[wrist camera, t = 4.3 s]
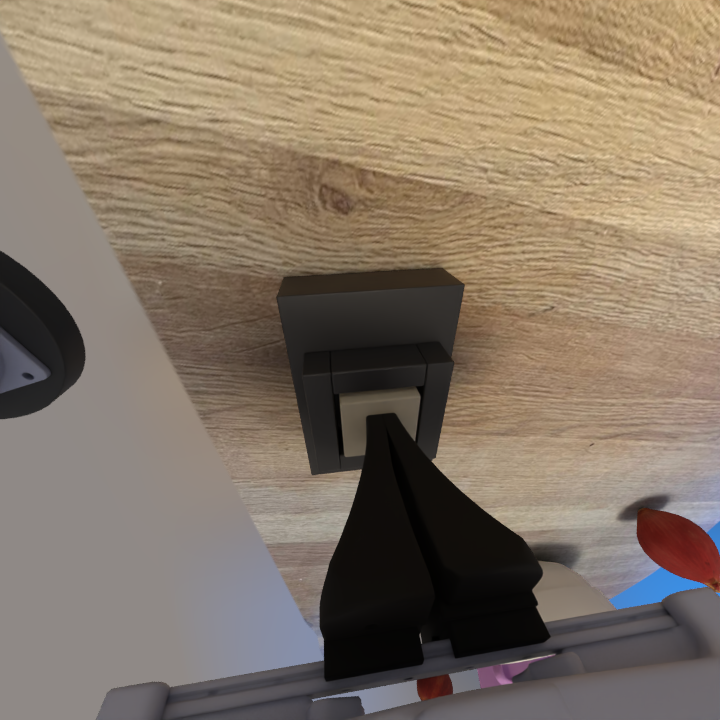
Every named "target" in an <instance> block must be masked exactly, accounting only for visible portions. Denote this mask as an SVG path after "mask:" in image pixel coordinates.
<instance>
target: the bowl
mask: <svg viewBox="0 0 720 720" xmlns="http://www.w3.org/2000/svg"><path fill="white" fill-rule="evenodd" d="M538 562H539V564H540V566H541V568H542V569H543V576H542V578H541V580H540V581H539V582H538V583H537V585H536V586H535V587H534V588H533V589H532V591H533V593H534V595H535V597H536V599H537V601H538V605H537V606H536V608H537V610H538V612H539V614H540V616H541V618H542V620H543V622H549V621H555V620H561V619H566V618H572V617H578V616H584V615H589V614H595V613H601V612H607V611H612V610H617V609H616V608H615V607H614V606H613V605H612V604H611V603H610V601H609V600H608V599H607V598H606V597H605V596H604V594H603V593H602V592H601V591H600V590H599V589H597V588H595V587H592V586H591V585H590V584H589V583H588V582H587V581H586V580H585V579H584V578H583V577H582V576H581V575H579V574H578V573H576V572H574V571H573V570H571V569H569V568H567V567H566V566H564V565H562V564H560V563H555V562H546V561H538ZM554 655H555V654H554ZM548 656H551V655H548ZM543 657H547V656H543ZM543 657H538V658H543ZM538 658H532V659H527V660H521V661H516V662H510V663H505V664H511V663H518V662H523V661H529V660H534V659H538ZM500 665H501V664H500Z"/></svg>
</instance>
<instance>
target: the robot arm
mask: <svg viewBox="0 0 720 720" xmlns="http://www.w3.org/2000/svg"><path fill="white" fill-rule="evenodd" d="M50 375H51V371H50V369H49V368H48V367H47V366H45V365H44V364H43V363H42V362H41V361H40V360H39V359H37V358H36V357H35V356H34V355H33V354H32V353H31V352H29V351H28V350H27V349H26V348H25V347H24V346H23V345H21V344H20V343H19V342H18V341H17V340H16V339H14V338H13V337H12V336H11V335H10V334H9V333H8V332H6V331H5V330H4V329H3V328H2V327H1V326H0V393H3V392H6V391H10V390H13V389H16V388H19V387H22V386H26V385H29V384H32V383H35V382H38V381H42V380H44V379H46V378H48V377H49V376H50ZM542 576H543V569H542V568H541V566H540V564H539V562H538V561H537V559H536V557H535V555H534V554H533V552H532V551H531V549H530V548H529V547H528V545H527V544H526V542H525V541H524V539H523V538H522V537H520V536H519V535H517V534H516V533H514V532H513V531H511V530H510V529H508V528H507V527H506V526H504V525H503V524H501V523H500V522H499V521H497V520H496V519H495V518H493V517H492V516H491V515H489V514H488V513H487V512H486V511H484V510H483V509H482V508H480V507H479V506H478V505H477V504H476V503H475V502H473V501H472V500H471V499H470V498H469V497H467V496H466V495H465V494H464V493H463V492H461V491H460V490H459V489H458V488H457V487H456V486H455V485H454V484H453V483H452V482H451V481H450V480H449V479H448V478H447V477H446V476H445V475H444V474H443V473H442V472H441V471H440V470H439V469H438V468H437V467H436V466H435V465H434V464H433V463H432V462H431V460H430V459H429V458H428V457H427V456H426V455H425V453H424V452H423V451H422V450H421V449H420V447H419V446H418V445H417V443H416V442H415V441H414V440H413V438H412V437H411V436H410V434H409V433H408V431H407V430H406V429H405V427H404V426H403V424H402V423H401V421H400V419H399V418H398V416H397V414H395V413H385V414H375V415H368V416H367V417H366V451H365V457H364V462H363V468H362V472H361V477H360V481H359V485H358V488H357V492H356V495H355V498H354V502H353V505H352V508H351V511H350V514H349V517H348V519H347V522H346V525H345V527H344V530H343V533H342V535H341V538H340V540H339V543H338V545H337V547H336V550H335V552H334V554H333V556H332V559H331V561H330V563H329V568H328V572H327V575H326V579H325V582H324V586H323V590H322V594H321V600H320V630H321V633H322V635H323V638H324V661H319V662H314V663H308V664H302V665H296V666H290V667H285V668H279V669H273V670H267V671H261V672H256V673H250V674H244V675H239V676H233V677H227V678H221V679H215V680H210V681H204V682H198V683H192V684H187V685H181V686H175V687H169V685H167V684H166V683H163V682H149V683H143V684H137V685H131V686H125V687H119V688H114V689H111V690H110V691H109V692H108V693H107V694H106V697H105V699H104V701H103V704H102V706H101V709H100V711H99V713H98V716H97V718H96V720H720V597H719V596H718V595H717V594H716V593H715V592H714V591H713V589H712V588H709V587H703V588H697V589H691V590H686V591H680V592H676V593H674V594H671V595H669V596H667V597H665V598H664V599H663V600H662V602H659V603H653V604H647V605H641V606H636V607H630V608H624V609H618V610H612V611H607V612H601V613H595V614H589V615H584V616H578V617H572V618H566V619H561V620H555V621H549V622H543V620H542V618H541V616H540V614H539V612H538V610H537V608H536V606H537V605H538V601H537V599H536V597H535V595H534V593H533V591H532V589H533V588H534V587H535V586H536V585H537V583H538V582H539V581H540V580H541V578H542ZM420 633H421V639H422V644H421V641H420V637H419V635H420ZM554 654H555V656H553V657H549V658H546V659H543V660H539V661H536V662H533V663H530V664H529V665H528V668H527V669H525V670H524V671H523V672H521V673H519V674H517V675H515V676H513V677H512V682H513V683H510V684H504V685H498V686H492V687H486V688H481V689H476V690H471V691H466V692H461V693H456V694H451V695H446V696H442V697H437V698H433V699H428V700H424V701H420V702H415V703H411V704H407V705H403V706H399V707H395V708H391V709H386V710H382V711H379V712H374V713H370V714H366V715H365V713H364V708H363V707H362V705H361V699H360V698H359V697H358V696H357V697H356V696H355V697H339V698H327V699H321V700H317V701H314V702H313V701H312V700H311V699H315V698H321V697H326V696H332V695H336V694H342V693H348V692H353V691H359V690H364V689H369V688H375V687H380V686H386V685H391V684H397V683H402V682H407V681H413V680H418V679H424V678H429V677H435V676H440V675H445V674H450V673H456V672H462V671H467V670H473V669H478V668H483V667H489V666H494V665H500V664H505V663H510V662H516V661H521V660H527V659H532V658H538V657H543V656H548V655H554Z"/></svg>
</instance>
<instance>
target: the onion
mask: <svg viewBox="0 0 720 720" xmlns="http://www.w3.org/2000/svg"><path fill="white" fill-rule="evenodd" d="M637 538H638V541H639V544H640V545H641V547H642V549H643V550H644V552H645V553H646V554H647V555H648V556H649V557H650V558H651V559H652V560H653V561H654V562H655V563H657V564H658V565H659V566H661V567H662V568H664V569H666V570H668V571H669V572H671V573H673V574H675V575H678V576H680V577H682V578H686V579H690V580H693V581H697V582H700V583H703V584H705V585H707V586H708V587H710V588H712V589H713V591H714V592H718V593H720V555H719V552H718V549H717V547H716V546H715V543H714V542H713V540H712V539H711V538H710V536H709V535H708V534H707V533H706V532H705V531H704V530H703V529H702V528H701V527H699V526H698V525H696V524H695V523H693V522H692V521H690V520H688V519H686V518H684V517H682V516H679V515H676V514H672V513H669V512H664V511H659V510H653V509H649V508H641V509H639V510H638V513H637Z"/></svg>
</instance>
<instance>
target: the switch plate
mask: <svg viewBox="0 0 720 720" xmlns="http://www.w3.org/2000/svg"><path fill="white" fill-rule="evenodd" d="M464 286H465V285H464V284H463V283H462V282H460V281H459V280H458V279H456V278H455V277H454V276H452V275H451V274H450V273H448V272H447V271H446V270H444V269H443V268H433V269H416V270H399V271H382V272H365V273H349V274H332V275H315V276H298V277H284V279H283V281H282V284H281V287H280V289H279V292H278V295H277V302H278V308H279V313H280V318H281V323H282V328H283V333H284V338H285V343H286V348H287V353H288V358H289V363H290V368H291V373H292V378H293V383H294V388H295V393H296V398H297V403H298V408H299V413H300V418H301V423H302V428H303V433H304V438H305V443H306V448H307V453H308V458H309V463H310V468H311V473H312V475H318V474H326V473H334V472H343V471H351V470H359V469H362V468H363V462H364V457H365V455H360V456H352V457H345V456H344V446H343V434H342V423H341V411H340V399H339V394H342V393H353V392H363V391H374V390H384V389H394V388H405V387H415V386H416V388H417V390H418V392H419V395H420V405H419V413H418V421H417V429H416V437H415V442H416V443H417V445H418V446H419V447H420V449H421V450H422V451H423V452H424V453H425V455H426V456H427V457H428V458H429V459H430V460H431V461H432V459H434V458H436V453H437V448H438V443H439V438H440V433H441V428H442V423H443V417H444V412H445V407H446V402H447V397H448V392H449V387H450V381H451V376H452V371H453V366H454V361H453V360H452V358H451V356H452V351H453V345H454V340H455V335H456V329H457V324H458V318H459V313H460V308H461V302H462V297H463V291H464Z"/></svg>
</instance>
